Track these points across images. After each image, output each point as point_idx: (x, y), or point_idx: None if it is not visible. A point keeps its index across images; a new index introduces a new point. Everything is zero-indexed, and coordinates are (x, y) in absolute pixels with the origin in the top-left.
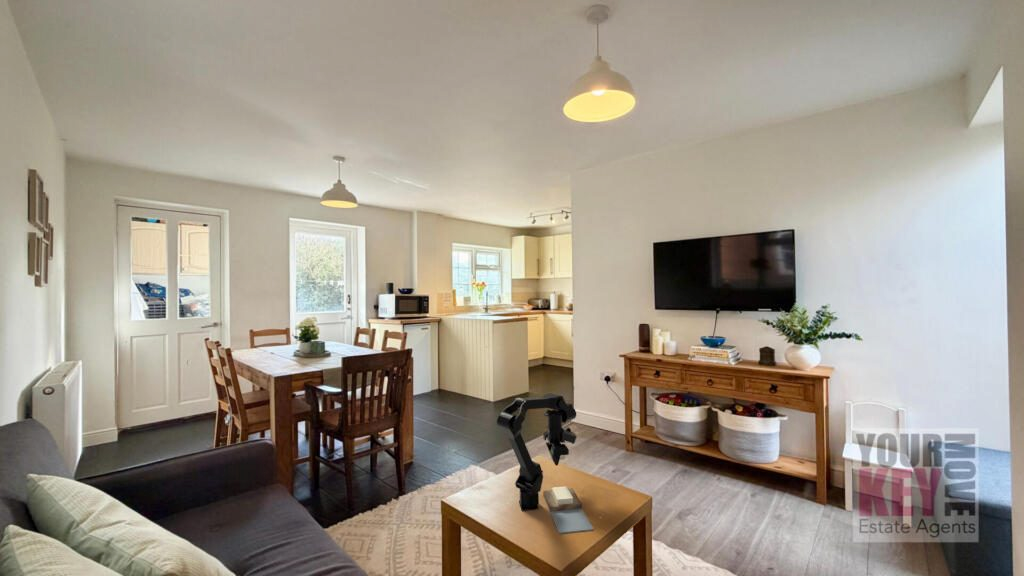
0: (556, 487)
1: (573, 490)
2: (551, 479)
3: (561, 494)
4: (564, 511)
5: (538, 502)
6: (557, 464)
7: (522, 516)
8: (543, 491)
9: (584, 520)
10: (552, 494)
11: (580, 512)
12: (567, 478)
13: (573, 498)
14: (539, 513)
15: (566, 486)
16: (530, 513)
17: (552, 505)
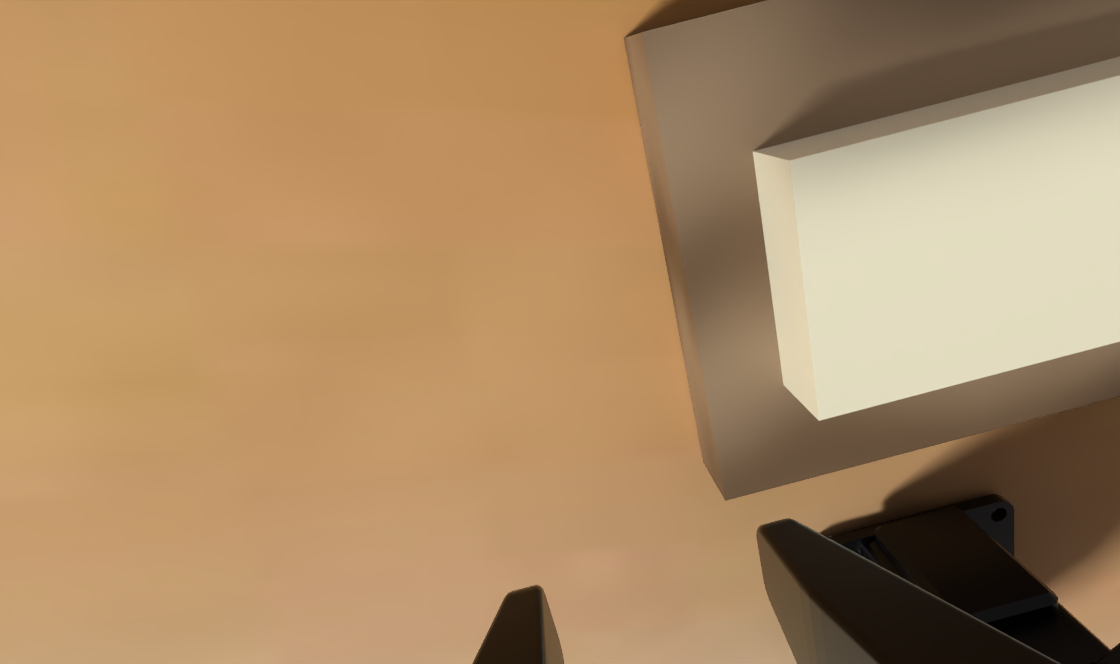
0: (820, 344)
1: (728, 18)
2: (204, 379)
3: (1063, 258)
4: None
5: (976, 523)
6: (819, 550)
7: (1091, 617)
8: (741, 494)
9: None
10: None
11: None
12: (94, 108)
13: (993, 37)
14: (1076, 472)
15: (799, 161)
16: (1056, 556)
17: (1115, 362)
